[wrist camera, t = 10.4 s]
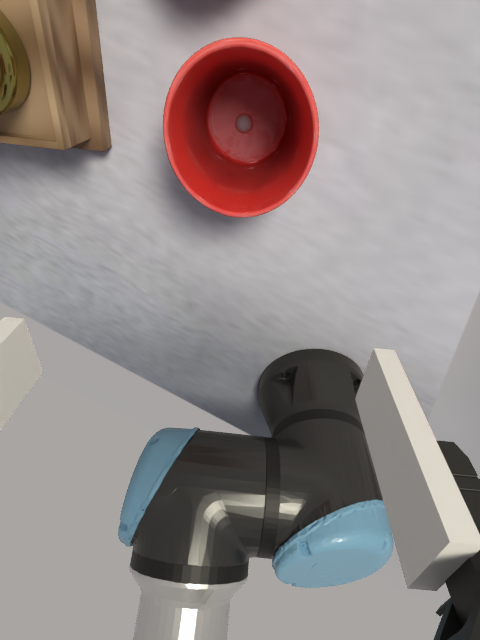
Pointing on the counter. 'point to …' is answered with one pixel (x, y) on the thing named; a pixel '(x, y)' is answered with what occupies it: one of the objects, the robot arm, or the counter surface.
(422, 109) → the counter surface
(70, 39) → the brown wooden square box
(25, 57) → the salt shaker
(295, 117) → the flower pot
